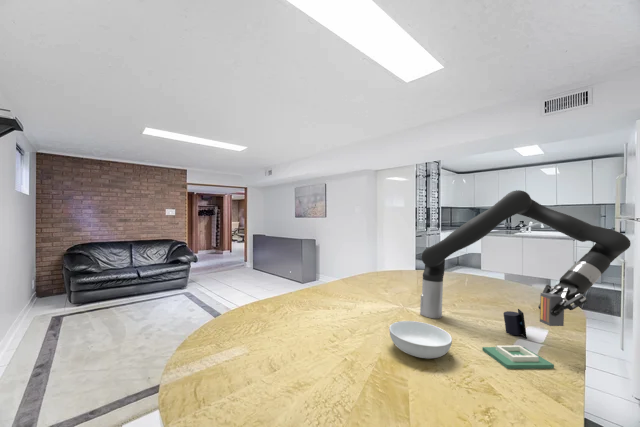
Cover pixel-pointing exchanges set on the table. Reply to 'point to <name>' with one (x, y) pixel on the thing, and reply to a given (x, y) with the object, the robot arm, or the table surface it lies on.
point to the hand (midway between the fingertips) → (546, 311)
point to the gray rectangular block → (547, 305)
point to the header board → (517, 357)
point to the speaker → (515, 323)
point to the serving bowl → (420, 339)
